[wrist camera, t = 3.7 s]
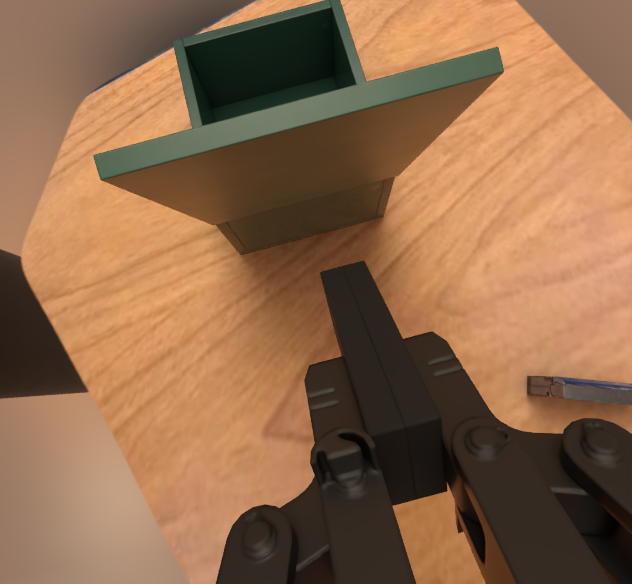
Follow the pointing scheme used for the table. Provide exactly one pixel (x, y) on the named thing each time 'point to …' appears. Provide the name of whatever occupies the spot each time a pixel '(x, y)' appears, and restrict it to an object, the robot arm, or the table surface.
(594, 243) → the table surface
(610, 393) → the mini dv tape
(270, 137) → the bin lid
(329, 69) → the bin
